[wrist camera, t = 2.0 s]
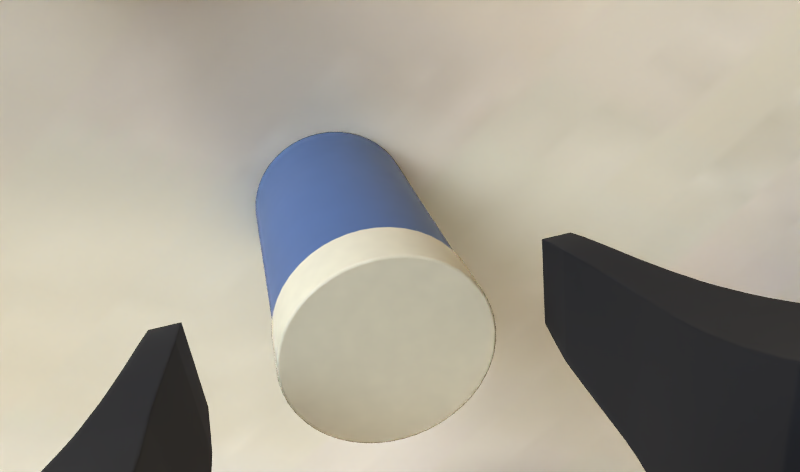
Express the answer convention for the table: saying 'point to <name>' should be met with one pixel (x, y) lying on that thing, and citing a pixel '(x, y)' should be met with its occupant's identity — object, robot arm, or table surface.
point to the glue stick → (365, 295)
